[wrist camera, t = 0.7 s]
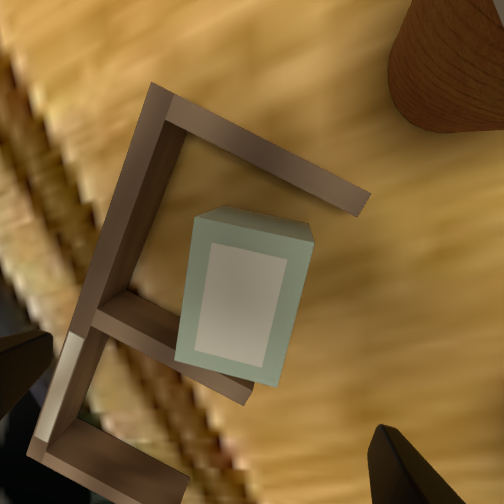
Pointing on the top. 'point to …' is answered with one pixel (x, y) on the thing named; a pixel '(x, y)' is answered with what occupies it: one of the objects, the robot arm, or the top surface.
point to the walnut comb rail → (141, 311)
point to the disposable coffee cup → (450, 65)
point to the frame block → (242, 292)
